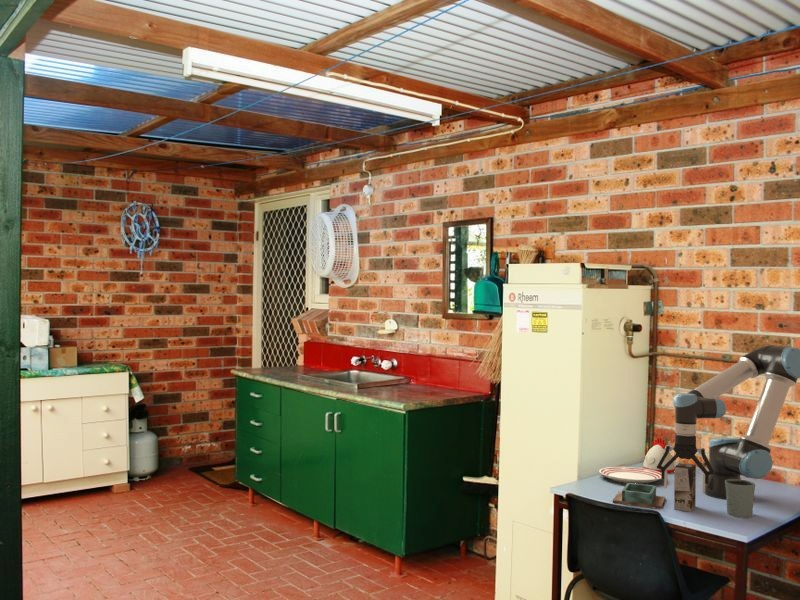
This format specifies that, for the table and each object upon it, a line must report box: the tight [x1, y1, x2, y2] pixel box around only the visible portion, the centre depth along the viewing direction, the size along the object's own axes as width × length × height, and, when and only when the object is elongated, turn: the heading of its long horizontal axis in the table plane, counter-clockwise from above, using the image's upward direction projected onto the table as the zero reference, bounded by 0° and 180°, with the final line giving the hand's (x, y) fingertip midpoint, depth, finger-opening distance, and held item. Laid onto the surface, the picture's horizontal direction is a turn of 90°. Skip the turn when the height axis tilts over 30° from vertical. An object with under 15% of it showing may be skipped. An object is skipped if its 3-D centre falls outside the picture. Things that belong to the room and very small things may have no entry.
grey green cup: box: [725, 479, 756, 519], centre depth 273 cm, size 10×10×12 cm
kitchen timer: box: [642, 437, 676, 474], centre depth 344 cm, size 14×14×15 cm
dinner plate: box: [598, 466, 663, 485], centre depth 327 cm, size 27×27×3 cm
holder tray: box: [612, 483, 666, 509], centre depth 291 cm, size 18×15×5 cm
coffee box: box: [673, 462, 697, 512], centre depth 282 cm, size 9×6×16 cm
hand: (684, 490), depth 281 cm, fingers open, 13 cm apart
